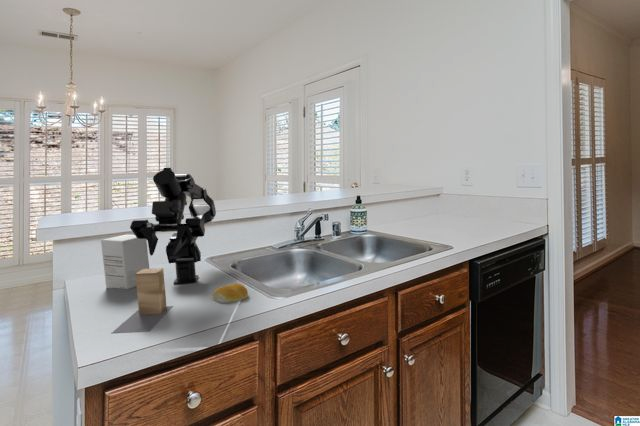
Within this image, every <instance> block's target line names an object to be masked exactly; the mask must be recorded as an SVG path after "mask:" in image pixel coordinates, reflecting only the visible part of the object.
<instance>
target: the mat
mask: <svg viewBox="0 0 640 426" xmlns="http://www.w3.org/2000/svg"><path fill="white" fill-rule="evenodd" d="M166 306H167V307H166V308H165V309H164V310H163V311H162V312H161V313H156V314H139V309H137V310H136V311H135V312H134V313H133V314H132V315H131V316H129V317H128V318H127V319H126V320H125V321H124V322H122V323H121V324H120V325H119V326H117V328H115V329H114V330H113V331H112V332H111V334H127V333H128V334H129V333H131V334H132V333H149V332H150V331H152V329H154V327H156V325H157V324H158V323H159V322H160V321H161V320H162V319H163V318H164V317H165V316H166V315H167V313H168V312H169V311H171V309H173V307H174V305H166Z"/></svg>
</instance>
